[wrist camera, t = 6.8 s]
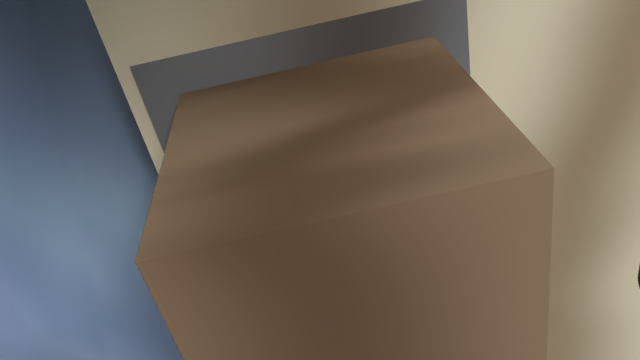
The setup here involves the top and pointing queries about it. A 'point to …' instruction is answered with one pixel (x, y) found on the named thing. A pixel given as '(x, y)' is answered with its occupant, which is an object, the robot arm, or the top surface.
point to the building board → (487, 71)
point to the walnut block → (351, 217)
